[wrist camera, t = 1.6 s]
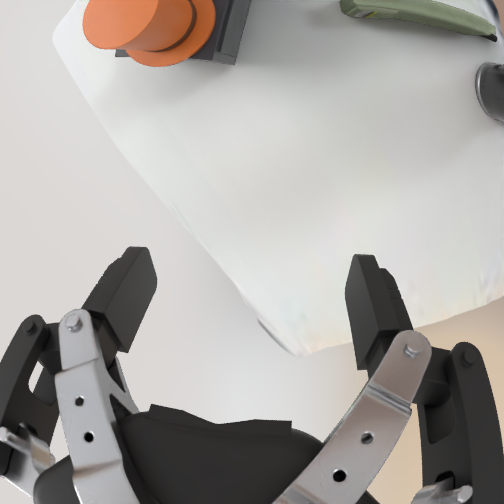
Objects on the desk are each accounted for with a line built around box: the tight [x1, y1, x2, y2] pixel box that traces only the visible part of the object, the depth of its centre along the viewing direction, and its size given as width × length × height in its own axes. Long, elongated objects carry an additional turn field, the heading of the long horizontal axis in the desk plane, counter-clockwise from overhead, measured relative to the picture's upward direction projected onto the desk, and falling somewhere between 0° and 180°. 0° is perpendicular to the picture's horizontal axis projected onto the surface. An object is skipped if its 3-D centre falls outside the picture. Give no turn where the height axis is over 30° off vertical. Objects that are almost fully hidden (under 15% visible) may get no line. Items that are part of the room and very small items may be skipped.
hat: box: [83, 0, 216, 67], centre depth 13 cm, size 9×9×8 cm
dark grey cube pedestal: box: [115, 0, 251, 65], centre depth 20 cm, size 10×12×12 cm
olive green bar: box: [339, 0, 497, 42], centre depth 16 cm, size 7×3×25 cm
